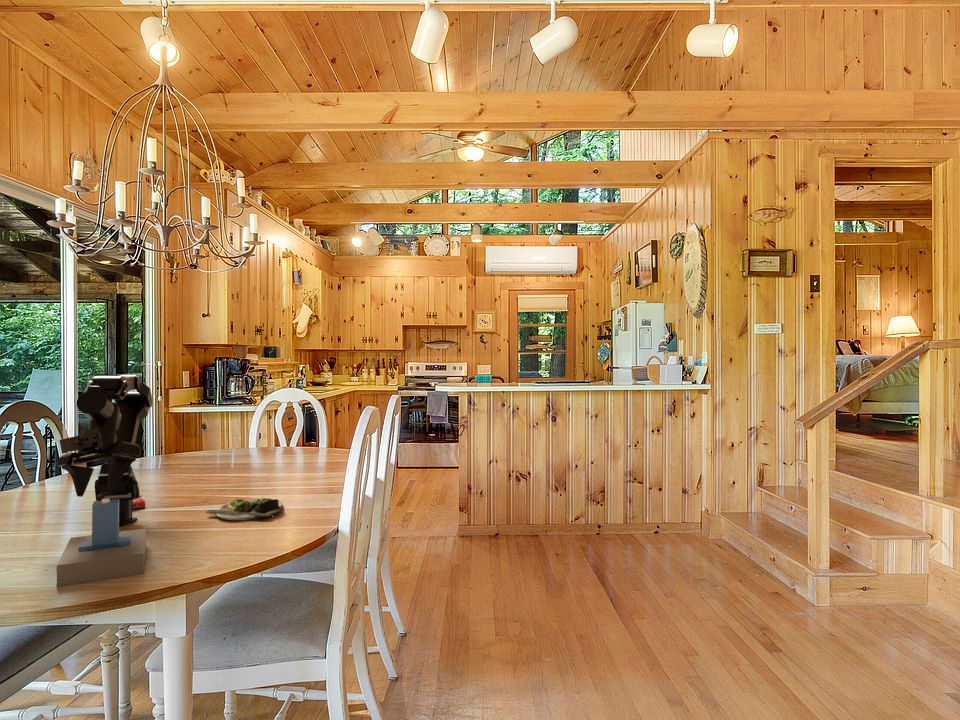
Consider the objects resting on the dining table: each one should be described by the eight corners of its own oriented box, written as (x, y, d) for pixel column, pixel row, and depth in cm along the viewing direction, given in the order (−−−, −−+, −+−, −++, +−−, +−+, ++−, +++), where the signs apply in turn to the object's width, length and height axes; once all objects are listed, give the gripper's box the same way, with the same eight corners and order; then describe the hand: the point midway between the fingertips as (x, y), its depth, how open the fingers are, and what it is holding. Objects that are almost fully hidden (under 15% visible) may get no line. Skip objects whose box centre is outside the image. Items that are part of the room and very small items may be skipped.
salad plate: (200, 526, 143) (200, 508, 143) (211, 508, 160) (211, 492, 160) (280, 521, 149) (280, 503, 149) (283, 504, 166) (283, 488, 166)
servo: (80, 565, 116) (81, 498, 116) (130, 558, 120) (131, 494, 120) (78, 571, 113) (79, 502, 113) (129, 563, 117) (130, 497, 117)
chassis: (70, 556, 121) (70, 537, 121) (145, 545, 128) (146, 528, 128) (56, 586, 105) (56, 565, 105) (143, 573, 112) (143, 553, 112)
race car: (147, 509, 158) (147, 495, 158) (125, 513, 154) (125, 499, 154) (132, 500, 167) (133, 487, 167) (111, 504, 163) (111, 490, 163)
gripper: (39, 427, 127) (27, 496, 122) (101, 411, 123) (92, 483, 117) (85, 436, 137) (77, 500, 132) (145, 421, 133) (139, 488, 127)
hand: (95, 493), depth 127 cm, fingers open, 9 cm apart
